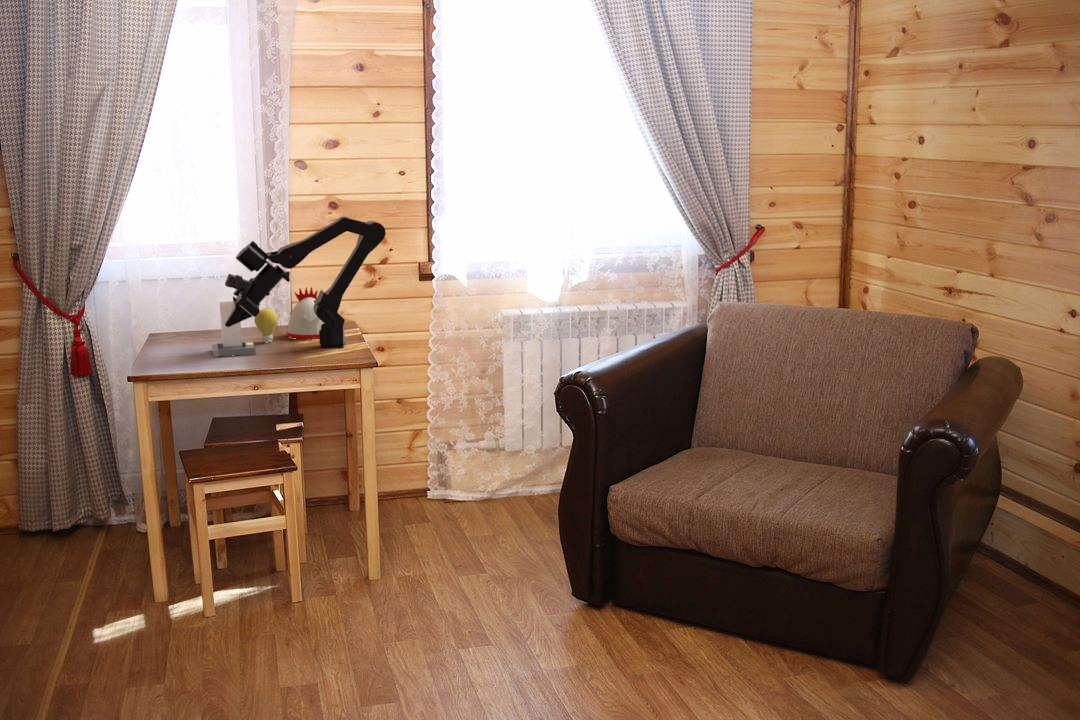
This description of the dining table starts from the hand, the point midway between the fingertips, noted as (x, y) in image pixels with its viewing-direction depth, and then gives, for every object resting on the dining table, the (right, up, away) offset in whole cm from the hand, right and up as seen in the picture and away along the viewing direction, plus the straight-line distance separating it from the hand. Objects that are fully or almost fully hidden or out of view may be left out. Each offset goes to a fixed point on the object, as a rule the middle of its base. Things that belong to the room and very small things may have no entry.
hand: (225, 324), depth 295 cm
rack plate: (+1, -8, +2) cm, 8 cm away
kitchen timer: (+18, -3, +26) cm, 32 cm away
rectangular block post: (+1, -6, +2) cm, 7 cm away
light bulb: (+7, -5, +16) cm, 18 cm away
